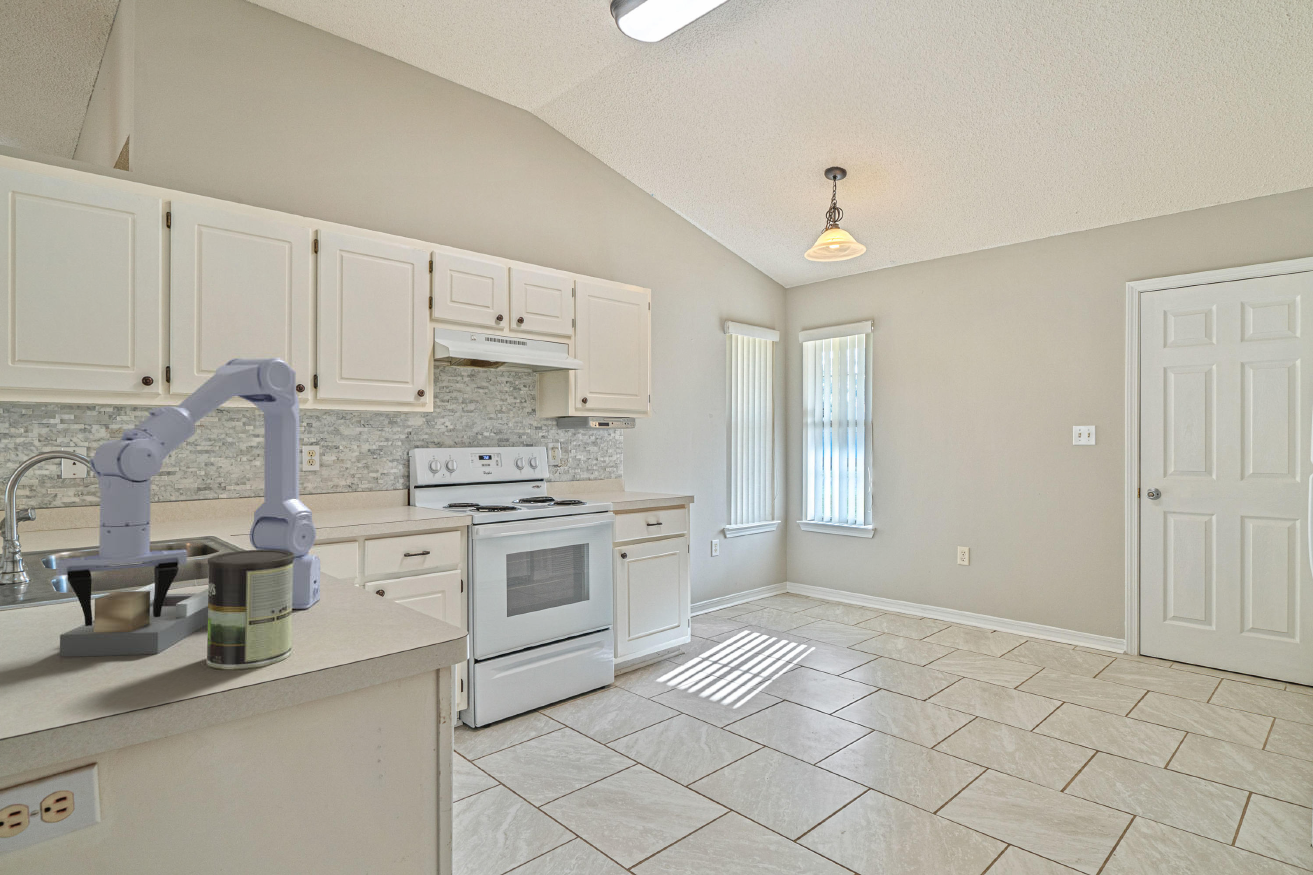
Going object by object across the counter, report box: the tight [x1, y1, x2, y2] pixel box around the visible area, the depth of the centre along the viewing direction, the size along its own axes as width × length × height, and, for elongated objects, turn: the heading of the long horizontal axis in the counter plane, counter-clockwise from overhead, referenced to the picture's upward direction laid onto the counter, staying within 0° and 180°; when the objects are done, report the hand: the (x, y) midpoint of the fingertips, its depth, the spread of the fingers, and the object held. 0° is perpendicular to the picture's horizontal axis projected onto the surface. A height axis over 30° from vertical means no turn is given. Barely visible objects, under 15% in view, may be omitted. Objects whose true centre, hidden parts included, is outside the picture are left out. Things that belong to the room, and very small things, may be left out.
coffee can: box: [205, 549, 294, 671], centre depth 95 cm, size 10×10×14 cm
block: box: [93, 590, 150, 632], centre depth 98 cm, size 5×5×5 cm
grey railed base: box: [59, 582, 208, 658], centre depth 107 cm, size 12×24×5 cm, turn 10°
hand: (123, 619), depth 98 cm, fingers open, 7 cm apart
